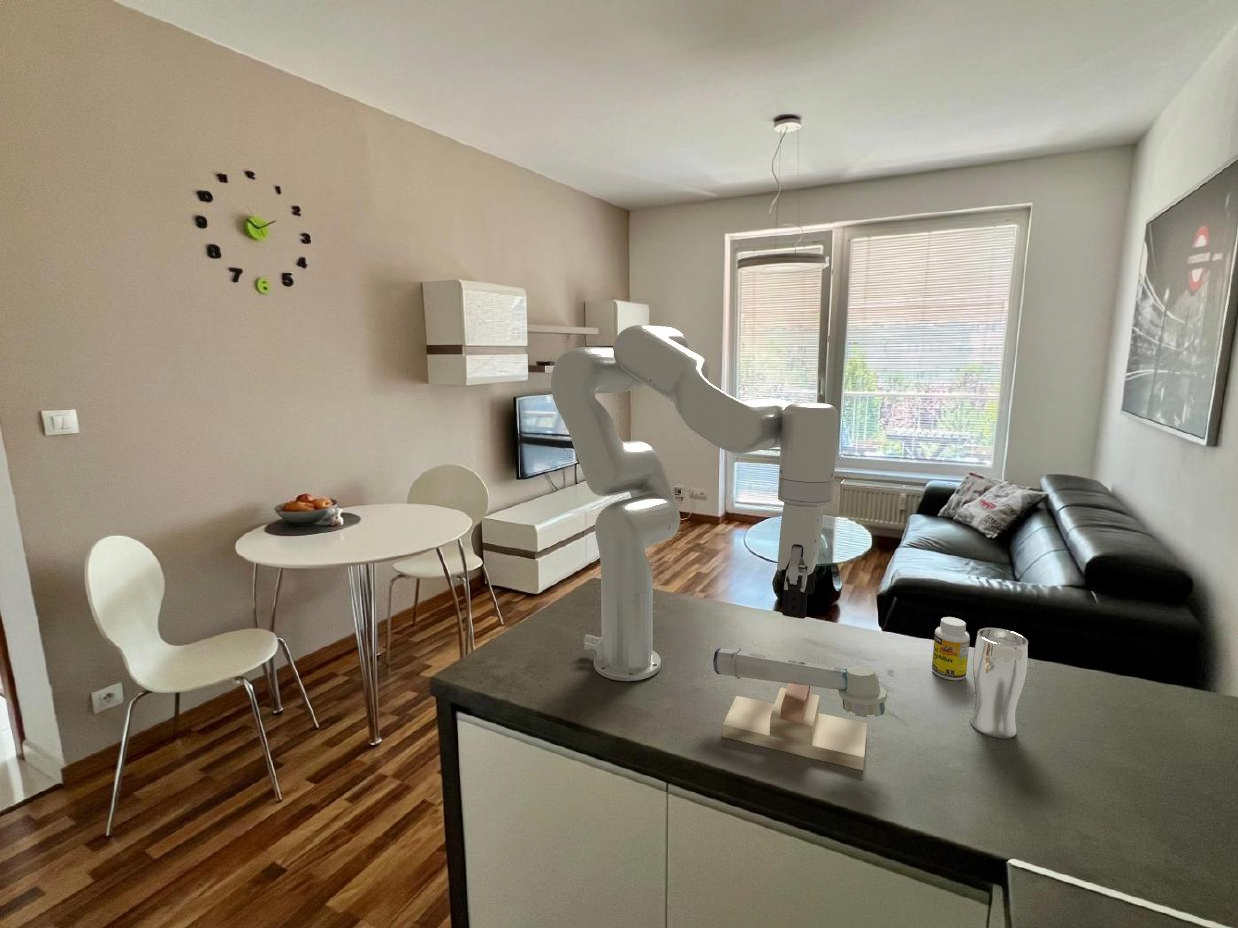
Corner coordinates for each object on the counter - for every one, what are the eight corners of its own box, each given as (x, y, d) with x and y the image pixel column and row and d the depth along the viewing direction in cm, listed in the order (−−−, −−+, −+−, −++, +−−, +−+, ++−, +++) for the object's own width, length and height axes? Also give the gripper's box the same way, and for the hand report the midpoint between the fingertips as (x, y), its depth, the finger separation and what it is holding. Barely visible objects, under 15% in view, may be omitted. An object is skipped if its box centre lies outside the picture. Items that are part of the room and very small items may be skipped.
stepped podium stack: (722, 736, 95) (723, 694, 93) (736, 706, 103) (737, 667, 101) (863, 770, 87) (866, 724, 85) (866, 735, 95) (868, 692, 94)
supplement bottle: (924, 670, 115) (928, 617, 113) (946, 664, 117) (950, 612, 115) (951, 684, 110) (955, 629, 108) (973, 678, 112) (978, 624, 110)
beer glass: (1001, 745, 92) (1011, 650, 90) (957, 721, 98) (966, 632, 96) (1029, 732, 95) (1039, 640, 93) (985, 710, 101) (993, 623, 99)
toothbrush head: (722, 641, 102) (886, 658, 89) (727, 680, 102) (890, 703, 89) (710, 654, 97) (880, 674, 84) (714, 694, 98) (884, 721, 85)
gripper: (787, 477, 98) (782, 581, 101) (767, 500, 82) (761, 622, 85) (838, 481, 95) (830, 588, 98) (827, 506, 79) (818, 632, 82)
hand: (798, 603), depth 91 cm, fingers open, 9 cm apart
